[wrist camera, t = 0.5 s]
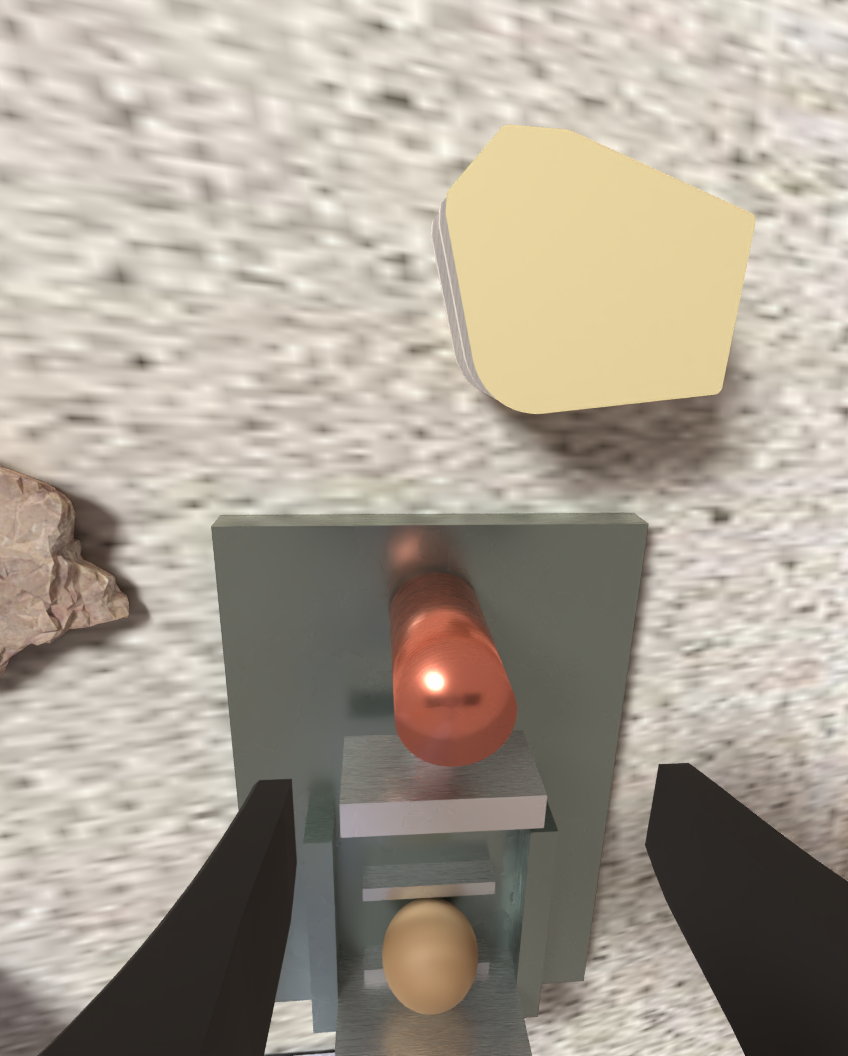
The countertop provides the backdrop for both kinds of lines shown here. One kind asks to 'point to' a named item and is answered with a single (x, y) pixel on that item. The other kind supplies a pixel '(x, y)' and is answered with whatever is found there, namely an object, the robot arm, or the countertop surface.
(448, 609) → the ram
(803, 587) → the countertop surface
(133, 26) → the countertop surface
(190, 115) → the countertop surface
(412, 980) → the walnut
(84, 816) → the countertop surface
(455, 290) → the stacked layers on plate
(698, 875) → the robot arm
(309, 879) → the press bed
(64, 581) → the stone
